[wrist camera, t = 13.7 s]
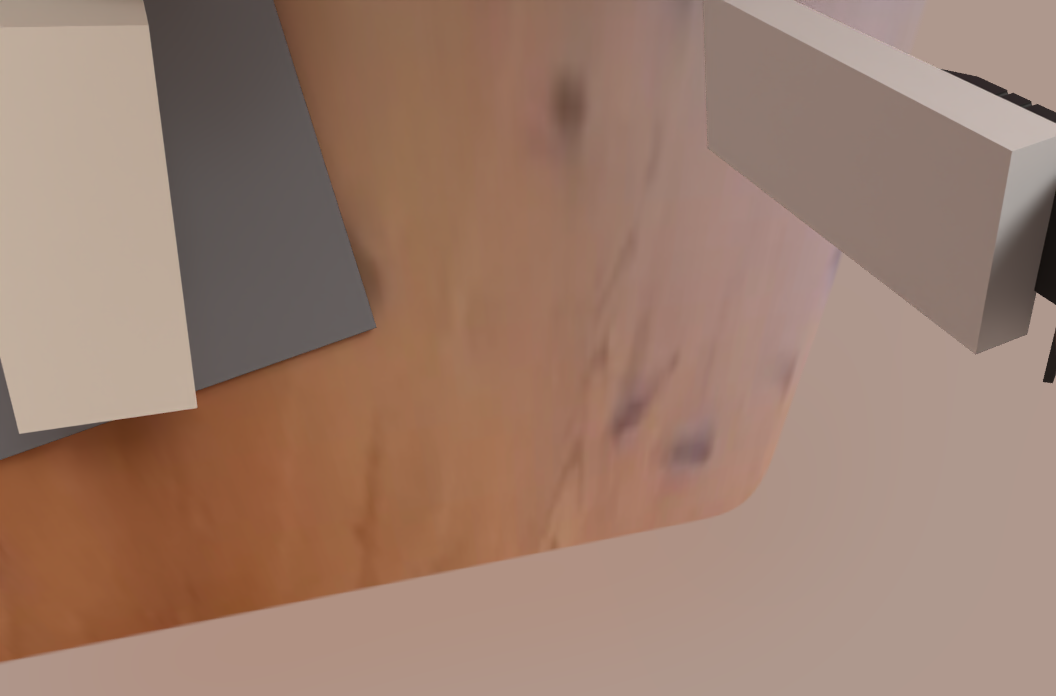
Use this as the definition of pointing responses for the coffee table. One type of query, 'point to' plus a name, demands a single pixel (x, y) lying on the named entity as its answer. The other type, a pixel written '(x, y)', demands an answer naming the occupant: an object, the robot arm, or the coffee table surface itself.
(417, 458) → the coffee table surface
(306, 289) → the rubber mat
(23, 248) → the cream block
